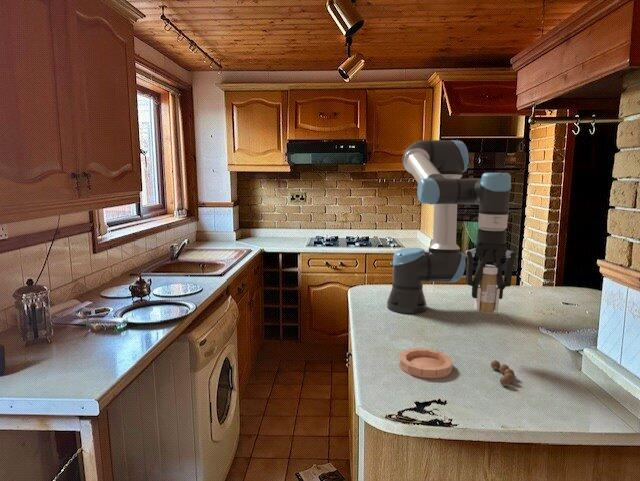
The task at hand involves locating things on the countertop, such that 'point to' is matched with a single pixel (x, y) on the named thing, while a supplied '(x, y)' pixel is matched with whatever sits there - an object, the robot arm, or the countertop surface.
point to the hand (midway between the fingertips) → (485, 309)
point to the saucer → (425, 363)
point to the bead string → (506, 371)
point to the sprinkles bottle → (488, 289)
